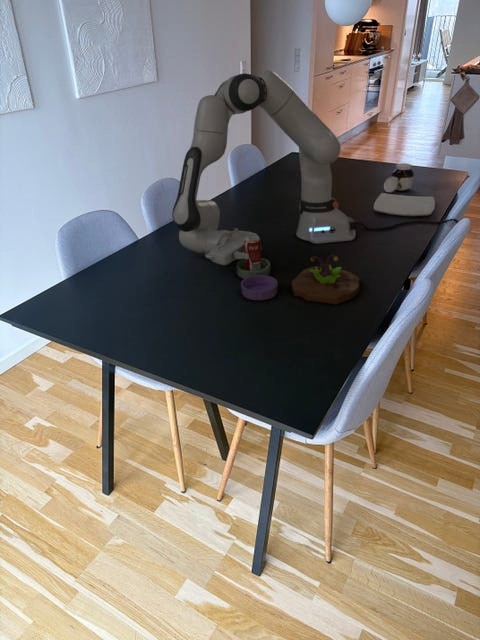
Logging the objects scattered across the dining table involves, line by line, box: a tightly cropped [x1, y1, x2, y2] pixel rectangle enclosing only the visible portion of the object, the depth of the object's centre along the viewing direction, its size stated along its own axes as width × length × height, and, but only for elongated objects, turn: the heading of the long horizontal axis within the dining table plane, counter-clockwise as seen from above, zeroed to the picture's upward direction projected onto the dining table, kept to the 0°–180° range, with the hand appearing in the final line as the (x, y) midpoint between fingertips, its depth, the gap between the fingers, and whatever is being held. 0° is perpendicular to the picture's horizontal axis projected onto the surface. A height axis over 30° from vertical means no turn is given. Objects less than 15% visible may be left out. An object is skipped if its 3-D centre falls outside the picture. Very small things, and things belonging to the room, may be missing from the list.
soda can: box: [244, 235, 262, 271], centre depth 155 cm, size 5×5×12 cm
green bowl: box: [235, 257, 271, 280], centre depth 157 cm, size 11×11×3 cm
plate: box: [373, 192, 436, 217], centre depth 203 cm, size 24×24×3 cm
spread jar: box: [383, 162, 415, 194], centre depth 222 cm, size 12×11×12 cm
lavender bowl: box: [240, 275, 278, 301], centre depth 146 cm, size 11×11×3 cm
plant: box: [291, 254, 362, 305], centre depth 144 cm, size 20×20×11 cm
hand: (255, 252), depth 154 cm, fingers closed on soda can, 5 cm apart
